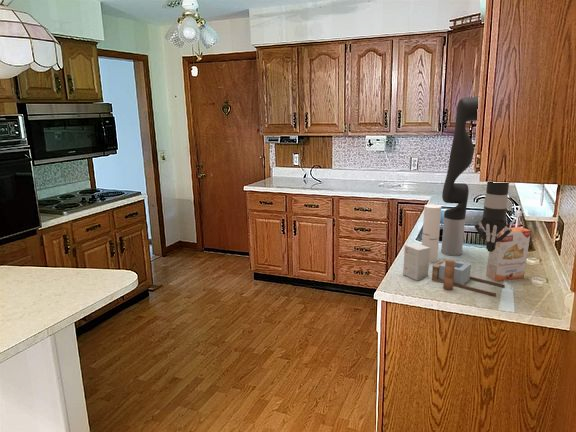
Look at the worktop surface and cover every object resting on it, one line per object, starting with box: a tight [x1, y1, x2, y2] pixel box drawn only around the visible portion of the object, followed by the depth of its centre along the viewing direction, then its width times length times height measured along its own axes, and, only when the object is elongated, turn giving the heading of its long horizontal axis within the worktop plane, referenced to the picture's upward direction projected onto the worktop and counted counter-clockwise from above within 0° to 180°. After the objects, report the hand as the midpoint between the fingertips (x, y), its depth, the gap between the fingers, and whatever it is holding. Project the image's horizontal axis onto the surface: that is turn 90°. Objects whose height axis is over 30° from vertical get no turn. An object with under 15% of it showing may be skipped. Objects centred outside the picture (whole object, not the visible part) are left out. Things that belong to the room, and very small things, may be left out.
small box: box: [402, 242, 430, 281], centre depth 182 cm, size 8×6×13 cm
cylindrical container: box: [421, 204, 442, 264], centre depth 200 cm, size 7×7×25 cm
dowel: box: [442, 259, 456, 291], centre depth 168 cm, size 3×3×12 cm
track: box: [431, 258, 506, 297], centre depth 173 cm, size 11×24×7 cm, turn 49°
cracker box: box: [485, 226, 531, 282], centre depth 178 cm, size 14×6×21 cm, turn 105°
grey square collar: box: [438, 259, 472, 285], centre depth 176 cm, size 9×9×6 cm
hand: (490, 251), depth 165 cm, fingers closed
